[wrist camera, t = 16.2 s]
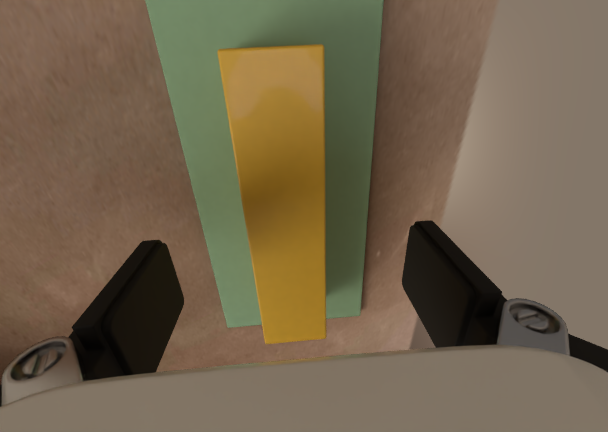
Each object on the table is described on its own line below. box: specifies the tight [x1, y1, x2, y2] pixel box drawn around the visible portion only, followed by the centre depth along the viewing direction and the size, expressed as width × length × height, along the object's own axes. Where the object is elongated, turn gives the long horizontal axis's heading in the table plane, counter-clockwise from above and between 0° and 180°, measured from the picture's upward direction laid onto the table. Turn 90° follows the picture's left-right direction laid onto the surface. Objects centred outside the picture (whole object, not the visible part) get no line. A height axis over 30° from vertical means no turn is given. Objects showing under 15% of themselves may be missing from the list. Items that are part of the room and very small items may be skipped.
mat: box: [145, 0, 384, 328], centre depth 15 cm, size 18×9×1 cm, turn 2°
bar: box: [217, 44, 326, 344], centre depth 14 cm, size 14×3×3 cm, turn 2°
